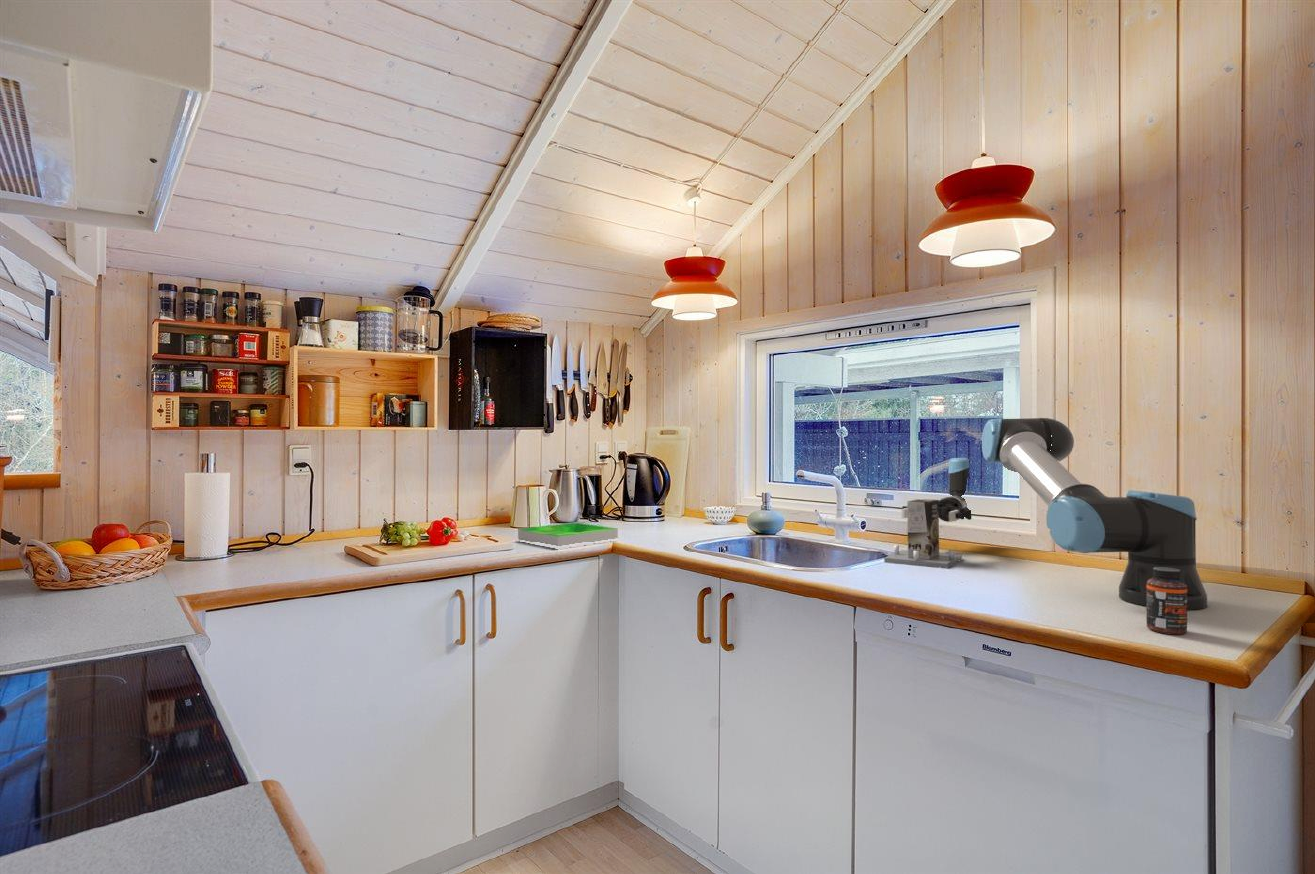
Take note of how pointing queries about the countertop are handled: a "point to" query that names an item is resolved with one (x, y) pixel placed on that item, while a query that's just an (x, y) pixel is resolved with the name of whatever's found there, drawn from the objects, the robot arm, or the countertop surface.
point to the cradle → (937, 561)
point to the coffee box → (923, 528)
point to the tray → (567, 533)
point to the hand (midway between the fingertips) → (926, 515)
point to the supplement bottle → (1167, 602)
